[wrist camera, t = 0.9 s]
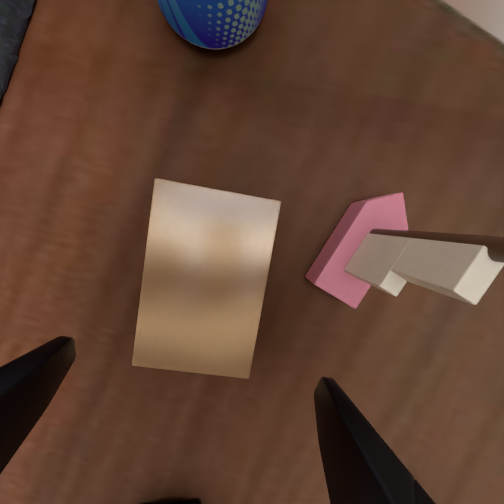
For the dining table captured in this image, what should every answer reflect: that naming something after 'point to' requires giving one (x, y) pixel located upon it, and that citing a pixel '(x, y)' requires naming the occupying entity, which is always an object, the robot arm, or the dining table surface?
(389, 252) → the toy boat
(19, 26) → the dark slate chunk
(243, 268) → the wood block
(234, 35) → the beer can
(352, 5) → the dining table surface
